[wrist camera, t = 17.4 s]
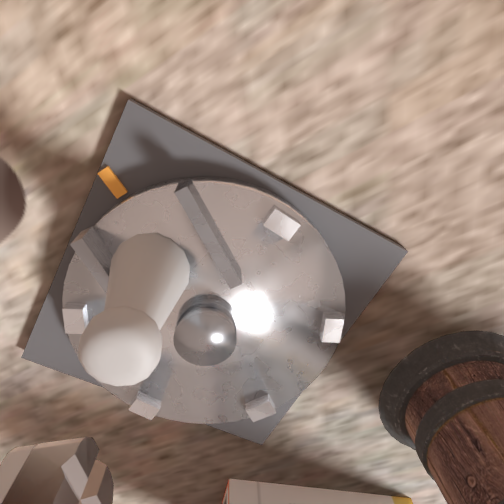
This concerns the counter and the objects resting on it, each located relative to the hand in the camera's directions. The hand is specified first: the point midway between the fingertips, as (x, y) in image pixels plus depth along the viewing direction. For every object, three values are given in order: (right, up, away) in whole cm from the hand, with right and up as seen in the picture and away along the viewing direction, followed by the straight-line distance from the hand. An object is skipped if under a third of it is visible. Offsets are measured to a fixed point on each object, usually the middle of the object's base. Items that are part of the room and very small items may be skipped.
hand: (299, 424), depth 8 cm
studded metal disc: (-5, -2, +30) cm, 30 cm away
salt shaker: (-9, +3, +25) cm, 27 cm away
